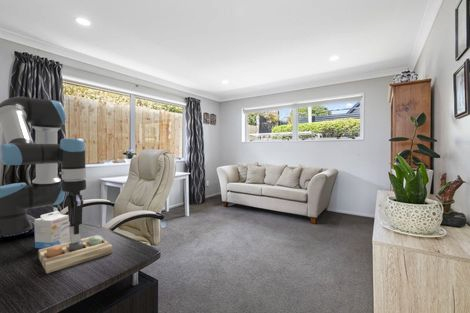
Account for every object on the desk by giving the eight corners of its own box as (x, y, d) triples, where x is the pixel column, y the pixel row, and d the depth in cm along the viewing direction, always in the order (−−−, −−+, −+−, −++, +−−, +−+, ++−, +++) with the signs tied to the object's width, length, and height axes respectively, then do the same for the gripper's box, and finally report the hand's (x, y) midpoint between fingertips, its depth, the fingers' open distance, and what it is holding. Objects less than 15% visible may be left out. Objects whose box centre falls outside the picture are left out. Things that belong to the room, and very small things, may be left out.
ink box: (51, 249, 93) (50, 216, 92) (34, 247, 95) (33, 215, 94) (70, 241, 101) (69, 210, 101) (54, 239, 103) (53, 209, 103)
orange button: (45, 257, 83) (45, 248, 83) (61, 253, 86) (60, 244, 86) (48, 261, 80) (47, 252, 80) (63, 257, 83) (63, 248, 83)
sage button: (87, 245, 93) (87, 238, 92) (99, 242, 96) (99, 234, 96) (90, 249, 90) (90, 241, 90) (103, 245, 93) (103, 237, 93)
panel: (38, 257, 86) (38, 249, 86) (98, 241, 101) (98, 234, 101) (46, 273, 75) (46, 264, 75) (112, 252, 90) (112, 245, 90)
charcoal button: (67, 251, 88) (67, 242, 88) (81, 247, 91) (81, 239, 91) (70, 254, 85) (70, 246, 85) (84, 251, 88) (84, 242, 88)
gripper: (57, 179, 89) (59, 240, 90) (66, 182, 80) (68, 250, 81) (80, 177, 94) (82, 234, 95) (90, 180, 85) (92, 243, 86)
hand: (75, 241), depth 88 cm, fingers closed
